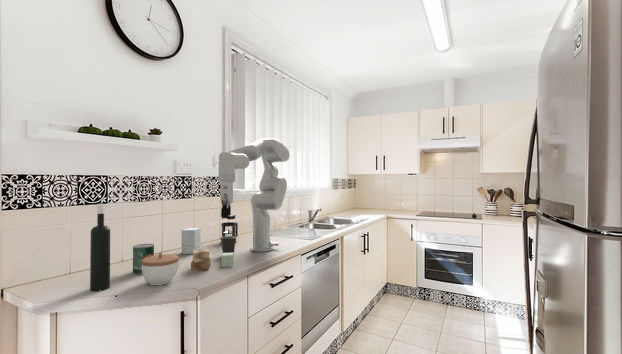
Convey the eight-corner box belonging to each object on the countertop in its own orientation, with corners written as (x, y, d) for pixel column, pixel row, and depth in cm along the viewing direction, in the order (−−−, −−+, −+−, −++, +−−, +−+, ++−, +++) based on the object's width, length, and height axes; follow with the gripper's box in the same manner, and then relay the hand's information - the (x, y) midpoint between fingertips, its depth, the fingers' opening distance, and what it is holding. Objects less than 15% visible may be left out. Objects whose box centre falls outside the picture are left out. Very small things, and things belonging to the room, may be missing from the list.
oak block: (207, 257, 136) (207, 248, 136) (209, 260, 131) (209, 251, 131) (192, 259, 133) (193, 250, 134) (194, 262, 128) (194, 252, 128)
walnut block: (210, 266, 136) (210, 257, 136) (208, 271, 129) (208, 261, 129) (194, 267, 135) (194, 258, 135) (190, 272, 128) (190, 262, 128)
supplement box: (201, 251, 165) (201, 227, 165) (194, 254, 158) (194, 230, 158) (188, 250, 166) (188, 227, 166) (180, 254, 158) (181, 229, 158)
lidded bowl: (176, 286, 110) (176, 255, 110) (137, 290, 106) (137, 258, 106) (180, 276, 122) (180, 248, 122) (145, 278, 118) (145, 250, 119)
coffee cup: (216, 255, 154) (217, 236, 155) (230, 253, 160) (230, 234, 161) (225, 258, 149) (225, 238, 149) (239, 255, 155) (239, 236, 155)
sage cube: (233, 263, 141) (233, 252, 141) (233, 266, 136) (233, 255, 136) (222, 263, 140) (222, 252, 140) (221, 266, 135) (221, 255, 135)
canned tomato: (134, 270, 130) (134, 244, 130) (154, 268, 133) (154, 242, 133) (131, 275, 123) (131, 248, 123) (153, 273, 126) (153, 246, 126)
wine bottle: (87, 289, 107) (87, 204, 107) (105, 284, 112) (105, 203, 112) (94, 292, 104) (95, 204, 104) (113, 287, 109) (113, 203, 109)
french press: (226, 245, 180) (226, 206, 180) (216, 243, 186) (216, 205, 186) (241, 241, 190) (241, 205, 190) (231, 240, 195) (232, 204, 195)
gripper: (233, 178, 132) (232, 218, 132) (236, 179, 150) (235, 214, 149) (215, 178, 131) (214, 218, 131) (220, 179, 148) (219, 214, 148)
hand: (226, 216), depth 140 cm, fingers open, 9 cm apart
